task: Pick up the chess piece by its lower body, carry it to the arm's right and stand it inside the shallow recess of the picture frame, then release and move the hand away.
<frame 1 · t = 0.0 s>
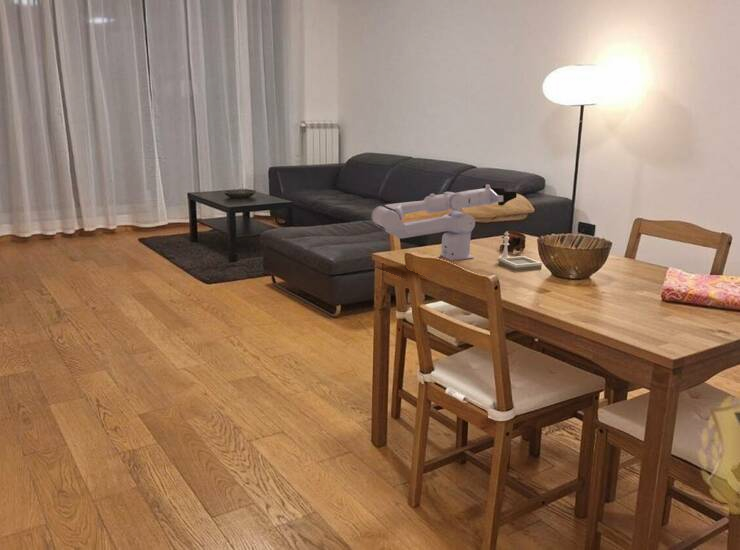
hand: (509, 192, 230), 22 cm above the table, tool horizontal, fingers open, 7 cm apart
pottery mug: (513, 251, 240), on the table
picture frame: (519, 266, 218), on the table
chess piece: (504, 260, 226), on the table
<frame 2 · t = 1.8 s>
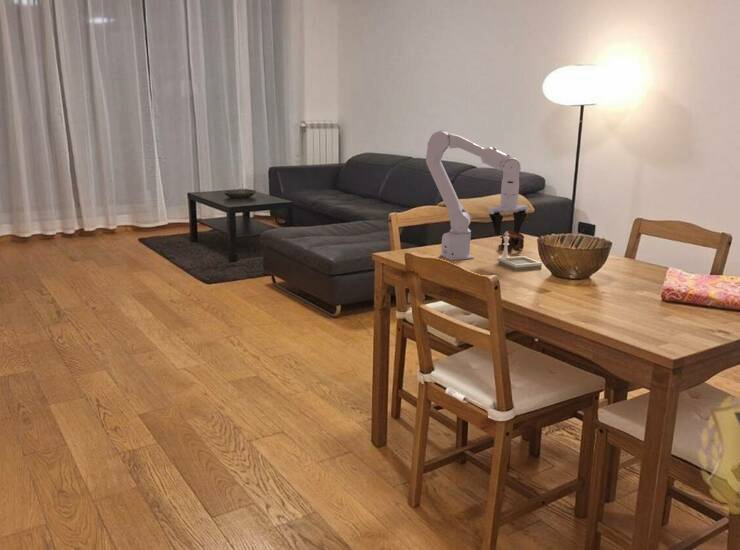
hand: (506, 233, 223), 9 cm above the table, tool pointing down, fingers open, 7 cm apart
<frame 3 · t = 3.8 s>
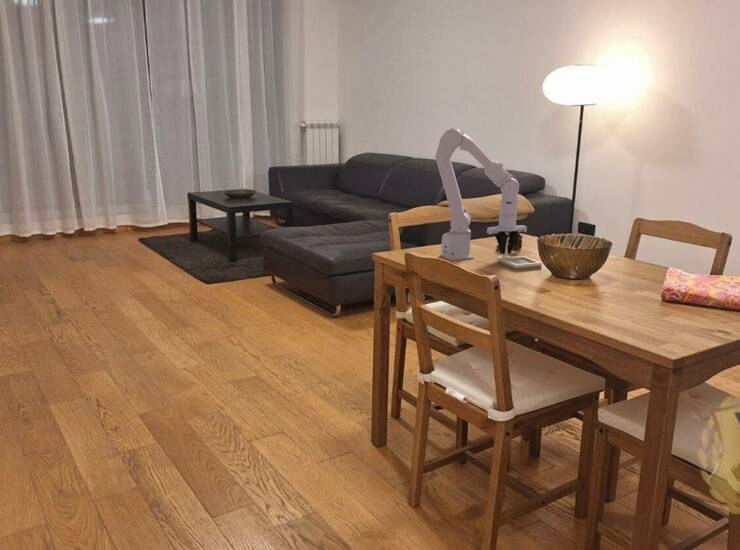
hand: (505, 253, 225), 2 cm above the table, tool pointing down, fingers closed on chess piece
chess piece: (504, 260, 226), on the table, touching gripper
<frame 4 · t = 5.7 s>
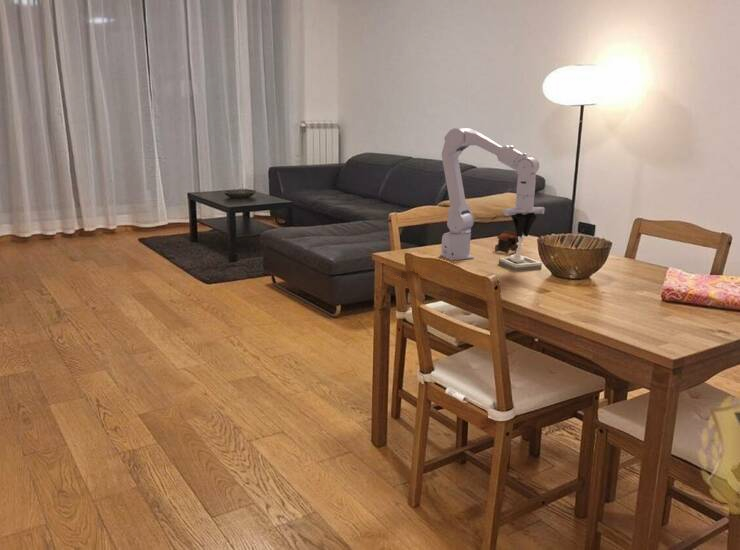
hand: (522, 236, 215), 10 cm above the table, tool pointing down, fingers closed
chess piece: (516, 260, 220), point 2 cm above the table, touching picture frame, gripper
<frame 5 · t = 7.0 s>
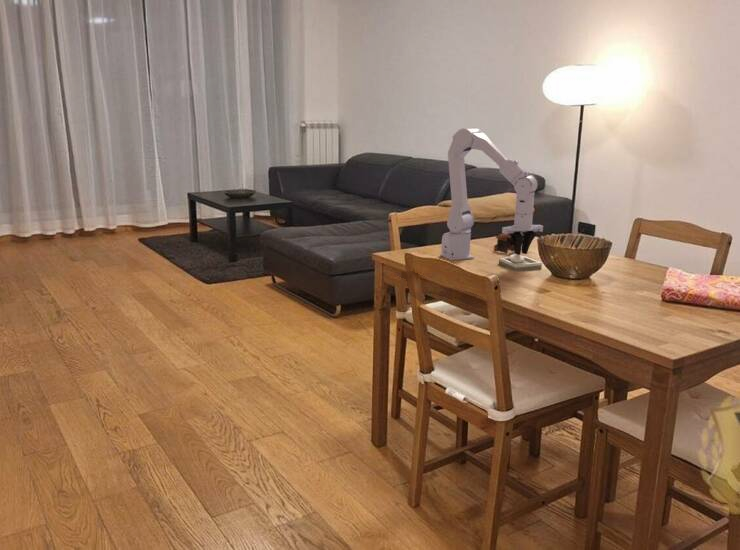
hand: (520, 253, 217), 4 cm above the table, tool pointing down, fingers closed on chess piece
chess piece: (516, 259, 220), point 2 cm above the table, touching picture frame, gripper
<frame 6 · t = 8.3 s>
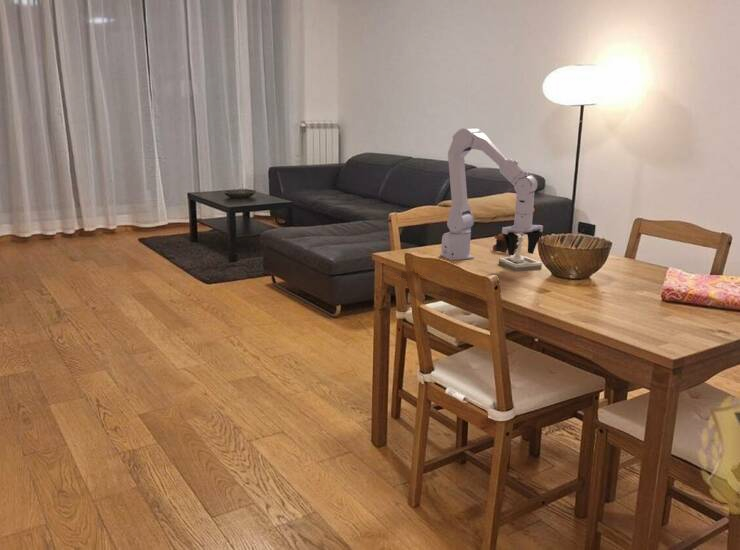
hand: (520, 253, 217), 4 cm above the table, tool pointing down, fingers open, 7 cm apart
chess piece: (516, 260, 220), point 2 cm above the table, touching picture frame
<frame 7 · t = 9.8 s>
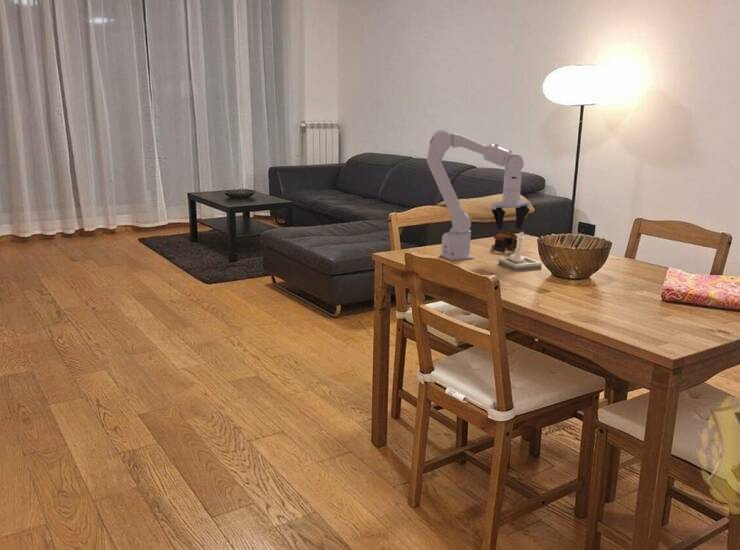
hand: (509, 228, 226), 10 cm above the table, tool pointing down, fingers open, 7 cm apart
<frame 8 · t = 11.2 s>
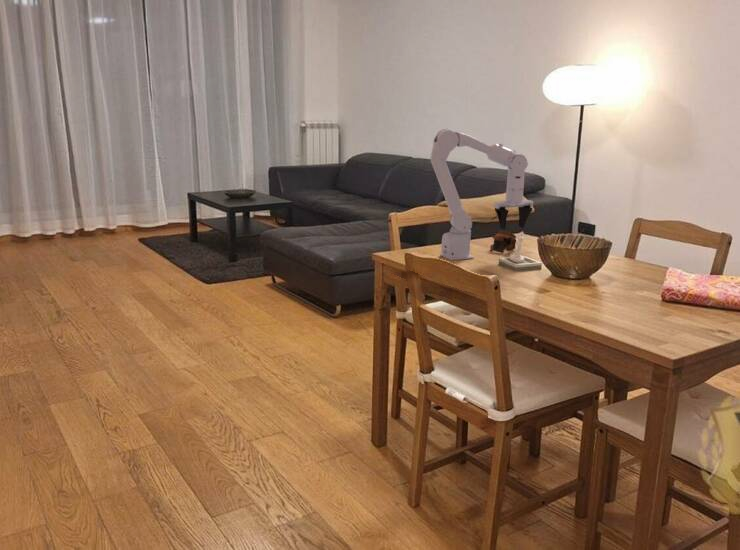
hand: (512, 228, 227), 10 cm above the table, tool pointing down, fingers open, 7 cm apart
at the end: chess piece inside the target area on the picture frame (2.5 cm from its centre), point 1.5 cm above the picture frame's base; chess piece tilted 11°; the gripper is holding nothing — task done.
